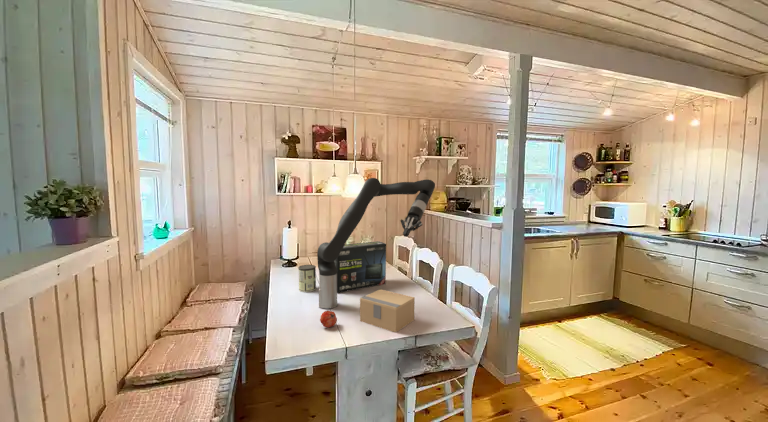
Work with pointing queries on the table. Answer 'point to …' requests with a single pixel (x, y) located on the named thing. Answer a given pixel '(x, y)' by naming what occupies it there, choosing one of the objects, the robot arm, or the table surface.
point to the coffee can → (307, 278)
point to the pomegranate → (328, 319)
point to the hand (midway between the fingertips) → (404, 235)
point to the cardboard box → (387, 315)
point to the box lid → (387, 299)
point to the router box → (361, 266)
